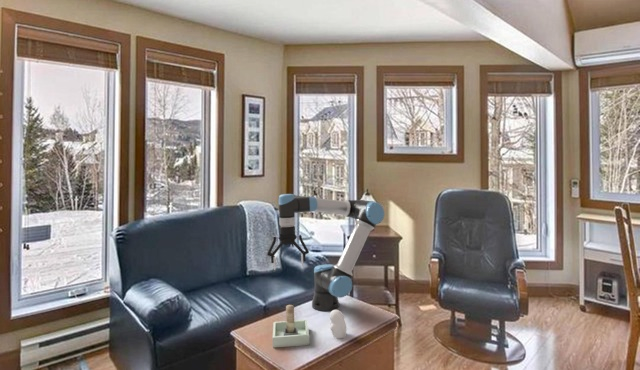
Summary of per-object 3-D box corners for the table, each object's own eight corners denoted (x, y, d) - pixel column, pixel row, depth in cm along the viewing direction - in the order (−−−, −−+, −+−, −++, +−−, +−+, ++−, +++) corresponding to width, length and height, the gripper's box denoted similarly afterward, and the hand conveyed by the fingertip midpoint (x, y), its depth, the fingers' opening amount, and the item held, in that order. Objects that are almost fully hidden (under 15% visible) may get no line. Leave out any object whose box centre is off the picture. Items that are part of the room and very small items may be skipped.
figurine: (330, 331, 173) (329, 307, 172) (346, 331, 173) (345, 306, 172) (330, 339, 166) (329, 313, 165) (346, 338, 166) (346, 313, 165)
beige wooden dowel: (286, 334, 170) (285, 305, 169) (294, 333, 170) (293, 304, 169) (286, 338, 166) (285, 308, 165) (294, 337, 167) (293, 307, 166)
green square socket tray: (273, 331, 175) (273, 321, 175) (307, 328, 177) (306, 319, 177) (272, 347, 160) (272, 337, 159) (309, 344, 161) (309, 335, 161)
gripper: (261, 228, 173) (262, 272, 175) (313, 225, 176) (314, 269, 177) (261, 225, 181) (263, 267, 182) (312, 223, 183) (313, 265, 184)
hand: (288, 268), depth 179 cm, fingers open, 13 cm apart
